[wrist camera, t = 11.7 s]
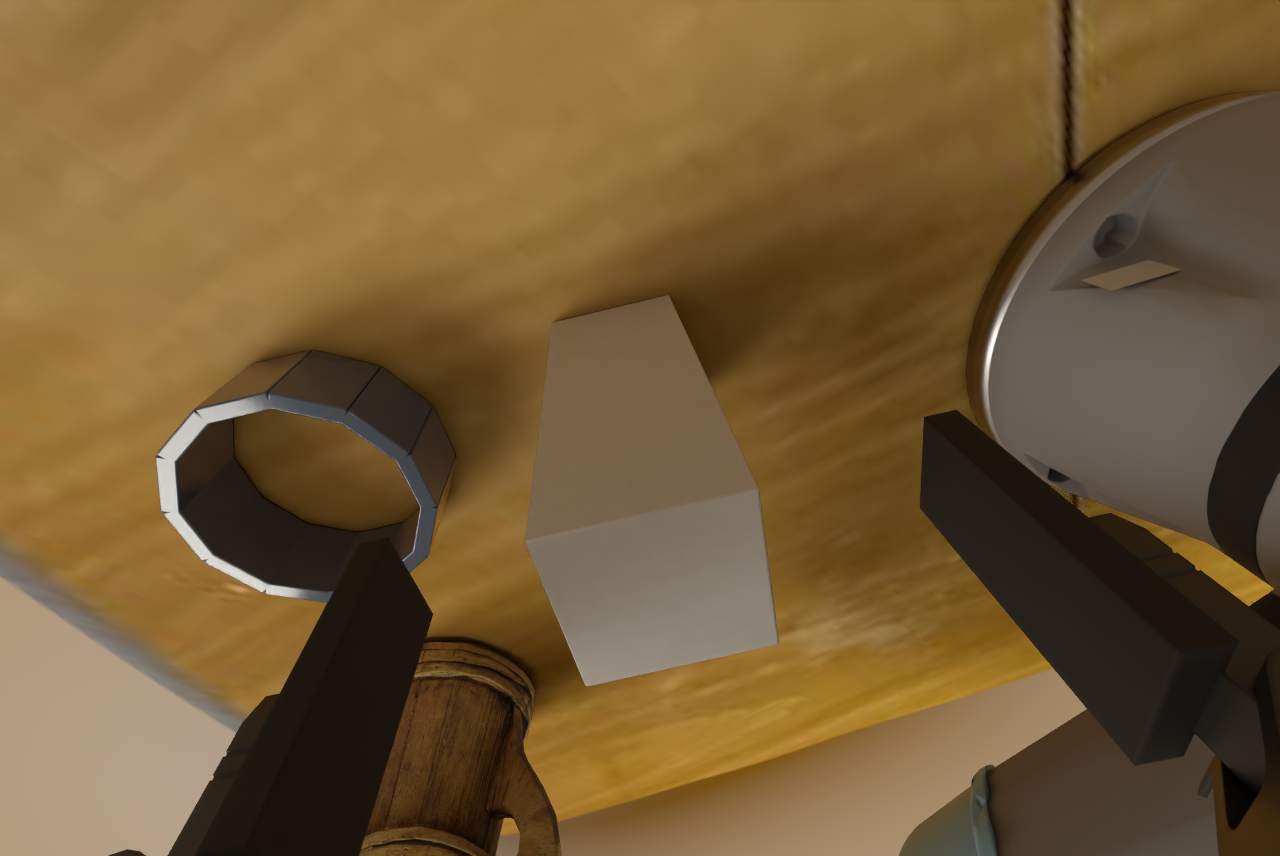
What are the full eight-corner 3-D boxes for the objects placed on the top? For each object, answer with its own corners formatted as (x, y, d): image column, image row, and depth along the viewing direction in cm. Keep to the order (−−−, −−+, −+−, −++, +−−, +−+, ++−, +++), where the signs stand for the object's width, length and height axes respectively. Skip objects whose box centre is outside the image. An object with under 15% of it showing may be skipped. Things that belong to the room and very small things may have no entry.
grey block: (669, 294, 21) (759, 488, 10) (688, 398, 23) (779, 645, 12) (551, 322, 21) (523, 541, 10) (582, 423, 23) (585, 688, 13)
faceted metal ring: (398, 328, 20) (366, 368, 17) (483, 515, 25) (470, 572, 22) (165, 384, 21) (93, 432, 18) (291, 559, 25) (251, 621, 22)
